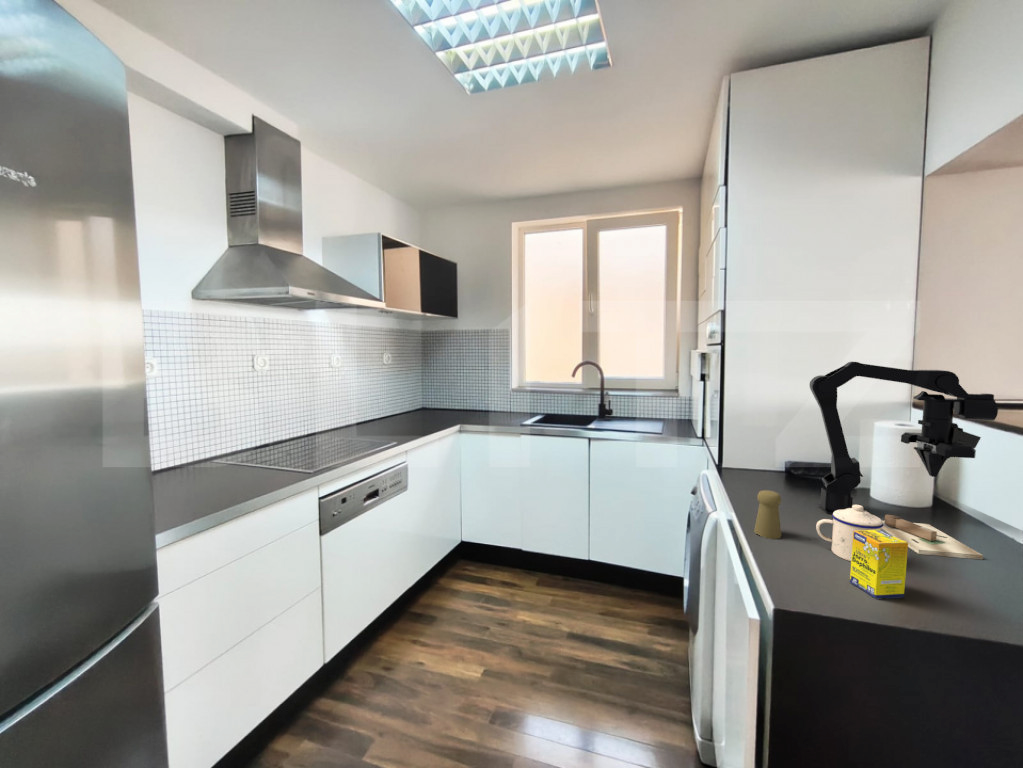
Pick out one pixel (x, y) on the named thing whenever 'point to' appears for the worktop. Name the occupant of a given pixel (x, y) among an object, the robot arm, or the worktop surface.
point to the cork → (768, 515)
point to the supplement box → (878, 563)
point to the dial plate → (933, 543)
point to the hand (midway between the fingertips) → (933, 476)
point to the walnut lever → (910, 527)
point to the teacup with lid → (848, 528)
